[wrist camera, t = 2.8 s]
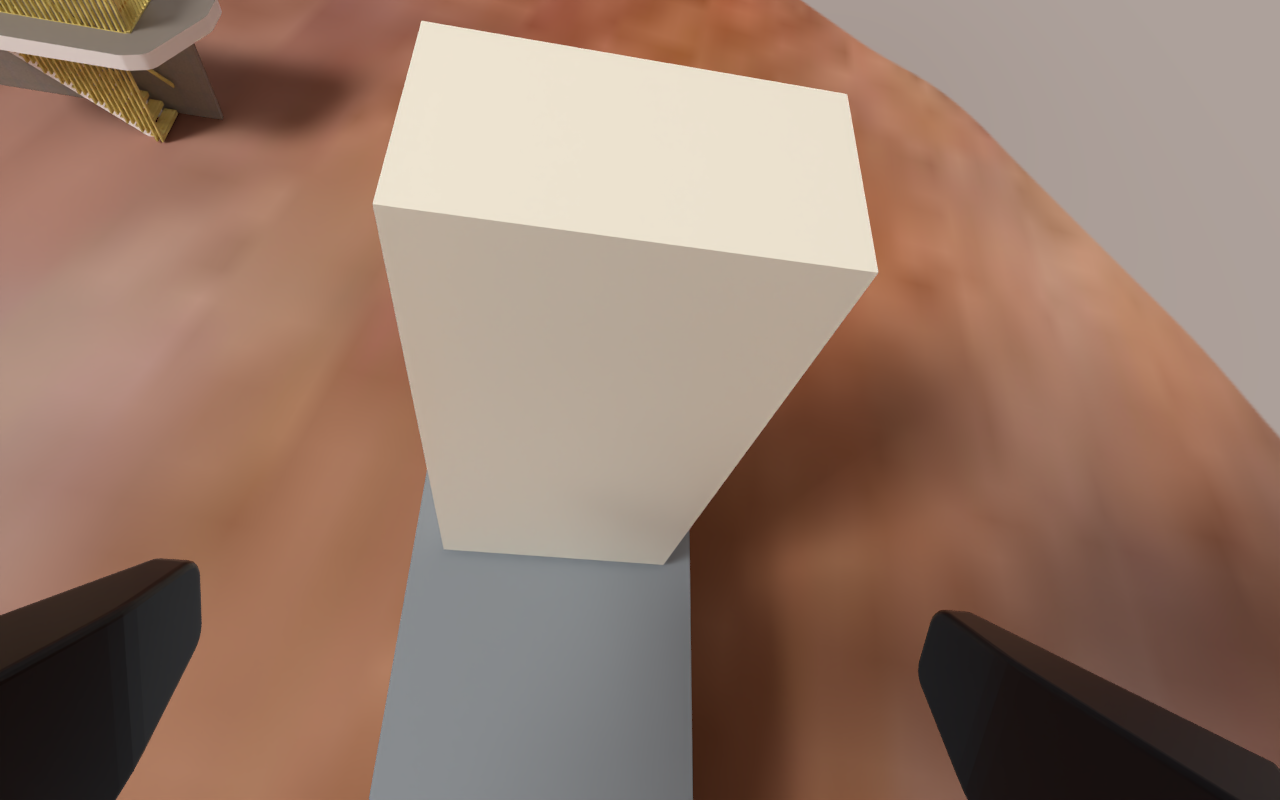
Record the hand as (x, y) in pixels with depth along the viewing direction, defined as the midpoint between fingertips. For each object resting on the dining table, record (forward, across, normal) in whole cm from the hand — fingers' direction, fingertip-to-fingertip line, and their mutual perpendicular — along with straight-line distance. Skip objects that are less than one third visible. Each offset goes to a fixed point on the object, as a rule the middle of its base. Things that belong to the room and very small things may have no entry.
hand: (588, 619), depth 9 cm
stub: (+10, 0, +3) cm, 10 cm away
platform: (+23, +18, -4) cm, 30 cm away
